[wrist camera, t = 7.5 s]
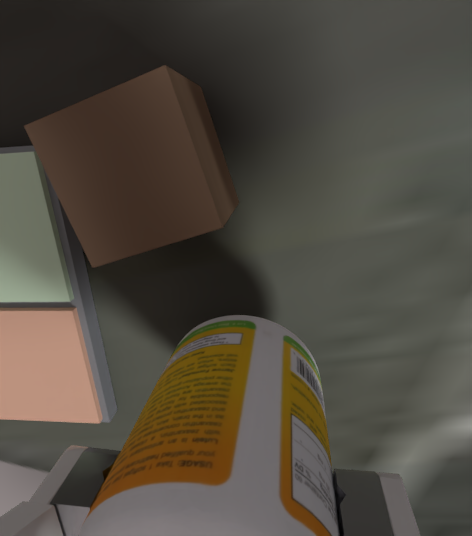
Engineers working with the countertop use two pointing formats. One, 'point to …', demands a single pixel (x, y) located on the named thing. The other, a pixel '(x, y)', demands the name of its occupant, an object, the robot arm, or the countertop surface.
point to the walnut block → (137, 166)
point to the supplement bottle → (226, 442)
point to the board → (45, 305)
